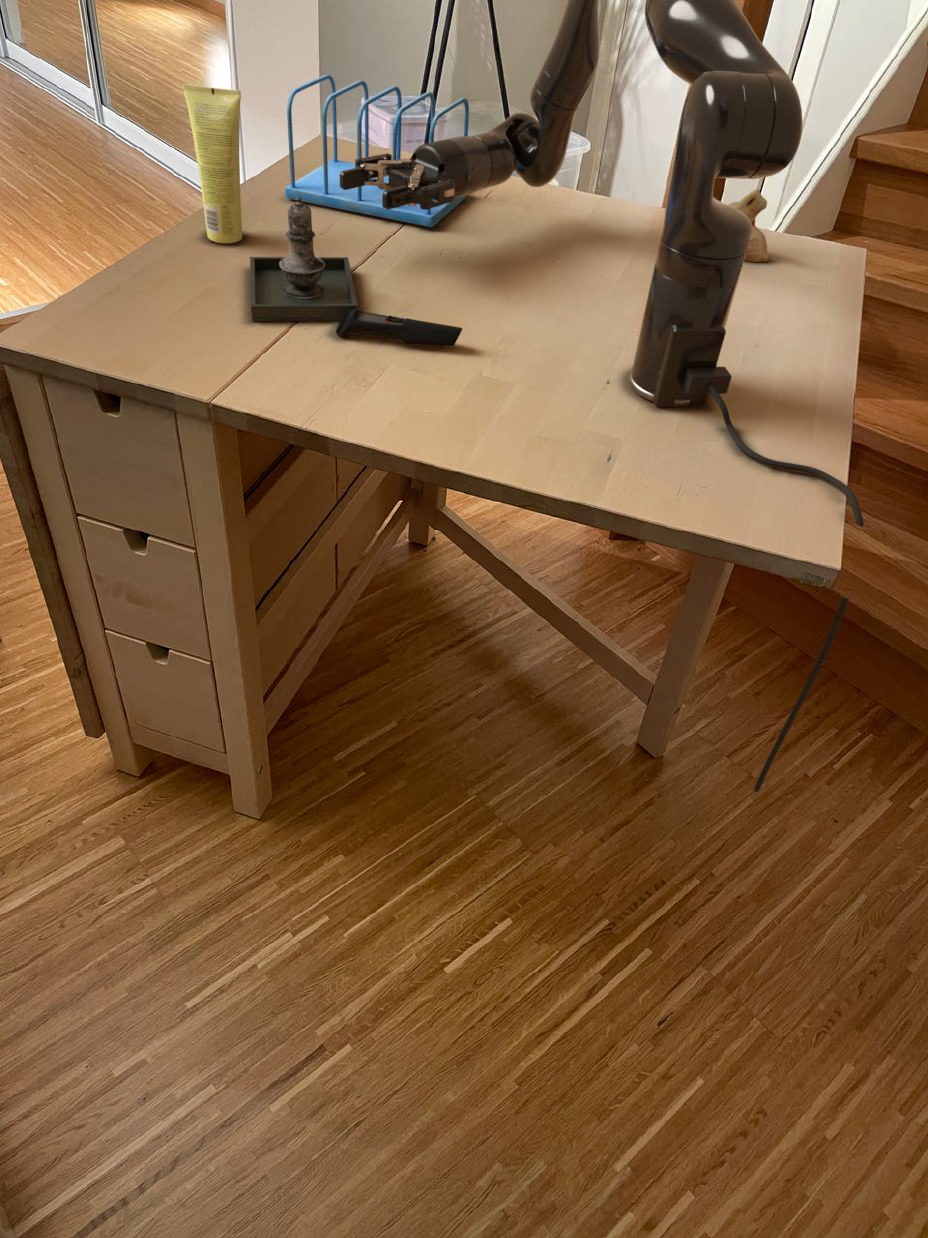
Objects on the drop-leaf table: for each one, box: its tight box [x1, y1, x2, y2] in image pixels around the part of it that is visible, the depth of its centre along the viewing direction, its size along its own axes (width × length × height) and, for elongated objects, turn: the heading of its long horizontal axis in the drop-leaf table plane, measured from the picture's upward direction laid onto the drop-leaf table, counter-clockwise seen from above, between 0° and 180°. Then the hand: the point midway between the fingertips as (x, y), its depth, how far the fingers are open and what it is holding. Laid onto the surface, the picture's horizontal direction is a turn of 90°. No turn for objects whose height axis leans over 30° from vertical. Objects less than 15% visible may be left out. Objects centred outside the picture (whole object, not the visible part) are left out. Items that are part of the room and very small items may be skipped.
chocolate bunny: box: [728, 188, 770, 263], centre depth 140 cm, size 6×8×10 cm
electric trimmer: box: [335, 308, 463, 347], centre depth 113 cm, size 4×16×3 cm, turn 80°
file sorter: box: [285, 74, 470, 228], centre depth 144 cm, size 25×17×15 cm
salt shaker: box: [279, 196, 325, 299], centre depth 117 cm, size 6×6×12 cm
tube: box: [182, 83, 243, 244], centre depth 126 cm, size 6×5×20 cm
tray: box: [249, 256, 359, 322], centre depth 120 cm, size 15×13×2 cm
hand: (362, 190), depth 119 cm, fingers open, 8 cm apart
